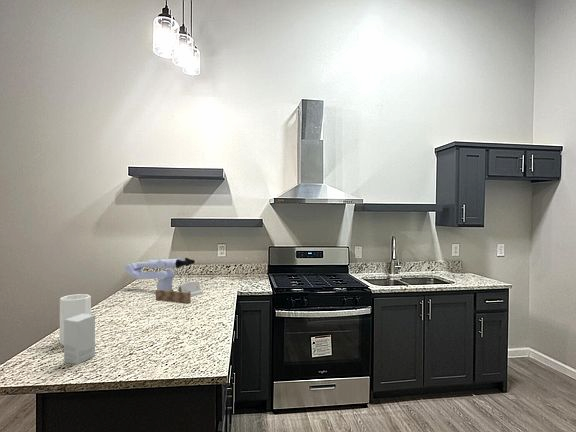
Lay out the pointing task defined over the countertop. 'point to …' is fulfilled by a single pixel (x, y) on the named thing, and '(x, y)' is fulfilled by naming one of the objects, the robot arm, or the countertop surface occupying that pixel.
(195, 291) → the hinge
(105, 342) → the countertop surface
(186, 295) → the walnut bracket
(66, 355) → the skincare box
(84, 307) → the cup
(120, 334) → the countertop surface
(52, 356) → the countertop surface
